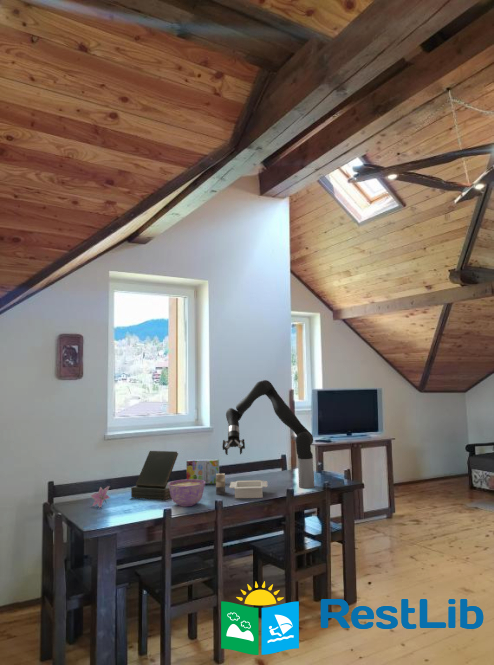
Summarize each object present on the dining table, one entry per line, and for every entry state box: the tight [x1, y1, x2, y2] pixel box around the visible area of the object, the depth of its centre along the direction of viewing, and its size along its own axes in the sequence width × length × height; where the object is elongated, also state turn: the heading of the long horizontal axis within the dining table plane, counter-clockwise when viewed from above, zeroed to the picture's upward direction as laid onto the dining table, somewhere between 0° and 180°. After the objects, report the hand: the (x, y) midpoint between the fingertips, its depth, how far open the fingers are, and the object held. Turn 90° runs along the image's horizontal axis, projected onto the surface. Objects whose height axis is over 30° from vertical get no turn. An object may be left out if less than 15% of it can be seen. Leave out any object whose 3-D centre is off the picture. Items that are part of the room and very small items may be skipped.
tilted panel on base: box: [130, 450, 179, 501], centre depth 282 cm, size 23×20×25 cm
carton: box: [229, 479, 268, 499], centre depth 276 cm, size 22×22×6 cm
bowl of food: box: [168, 478, 206, 507], centre depth 257 cm, size 20×20×12 cm
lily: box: [90, 485, 111, 508], centre depth 261 cm, size 12×12×10 cm
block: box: [215, 472, 226, 495], centre depth 282 cm, size 5×5×11 cm
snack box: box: [186, 458, 220, 485], centre depth 314 cm, size 21×6×15 cm, turn 84°
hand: (233, 453), depth 299 cm, fingers open, 8 cm apart
